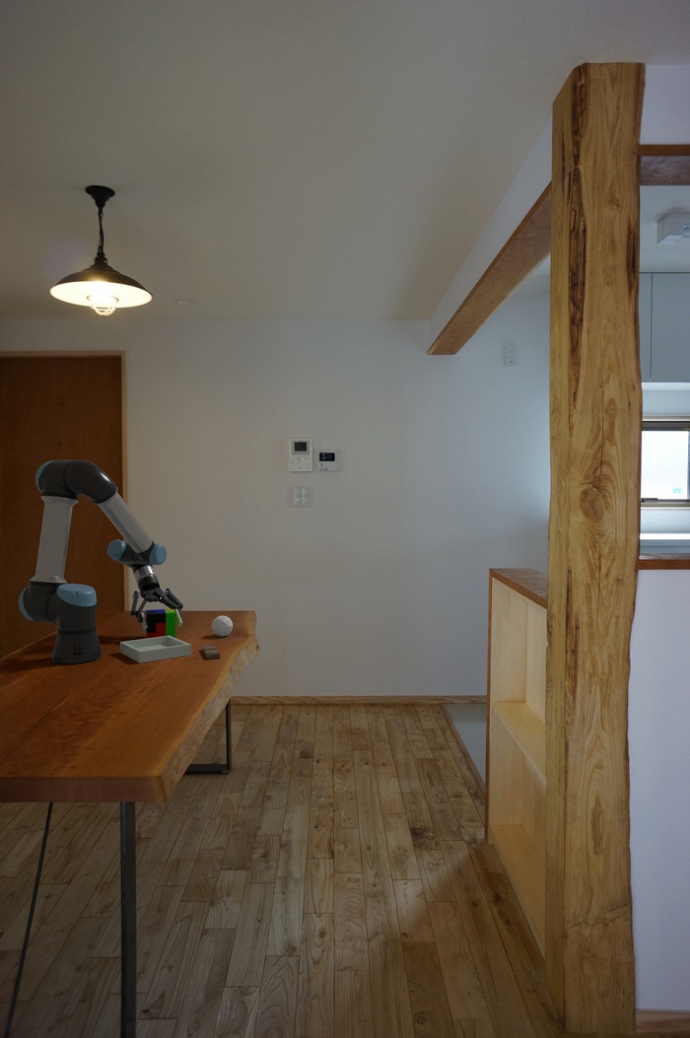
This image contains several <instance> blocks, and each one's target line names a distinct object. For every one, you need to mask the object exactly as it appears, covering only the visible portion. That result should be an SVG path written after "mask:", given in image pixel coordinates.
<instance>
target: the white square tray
mask: <svg viewBox="0 0 690 1038" xmlns="http://www.w3.org/2000/svg"><path fill="white" fill-rule="evenodd" d="M119 653H120V654H122V655H124V656H126V657H128V658H130V659H132V660H133V661H135V662H137V663H139V664H143V663H149V662H157V661H162V660H167V659H168V660H169V659H174V658H182V657H188V656H192V644H191V643H189V642H186V641H183V640H181V639H179V638H174V637H172V636H163V637H155V638H148V639H146V638H142V639H140V638H139V639H135V640H134V639H133V640H125V641H120V642H119Z"/></svg>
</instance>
